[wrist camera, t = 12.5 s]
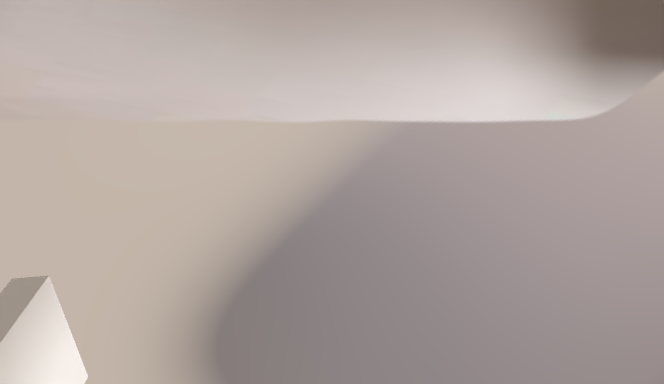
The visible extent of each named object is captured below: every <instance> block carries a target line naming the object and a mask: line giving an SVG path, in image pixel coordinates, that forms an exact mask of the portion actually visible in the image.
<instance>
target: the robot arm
mask: <svg viewBox="0 0 664 384" xmlns="http://www.w3.org/2000/svg"><path fill="white" fill-rule="evenodd" d="M87 378H88V375H87V373H86V370H85V368H84V365H83V362H82V360H81V357H80V355H79V352H78V350H77V347H76V344H75V342H74V339H73V337H72V334H71V332H70V329H69V327H68V324H67V321H66V319H65V316H64V314H63V311H62V308H61V306H60V304H59V301H58V298H57V296H56V293H55V290H54V288H53V286H52V283H51V280H50V278H49V276H40V277H29V278H17V279H12V280H11V281H10V282H9V283H8V285H7V286H6V287H5V288H4V289H3V291H2V292H1V293H0V384H85V381H86V379H87Z"/></svg>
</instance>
